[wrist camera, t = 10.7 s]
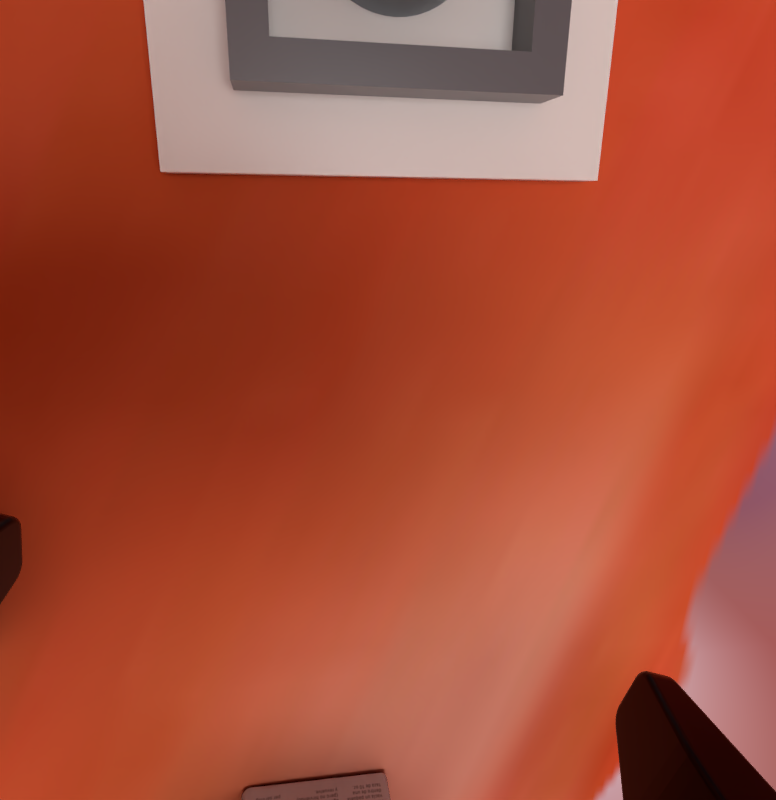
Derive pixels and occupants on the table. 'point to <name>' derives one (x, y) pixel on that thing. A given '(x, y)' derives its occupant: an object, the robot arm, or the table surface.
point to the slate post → (398, 6)
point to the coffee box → (325, 789)
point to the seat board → (381, 88)
